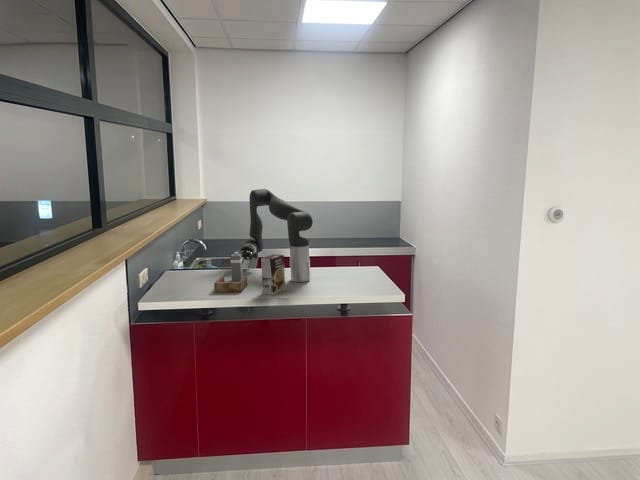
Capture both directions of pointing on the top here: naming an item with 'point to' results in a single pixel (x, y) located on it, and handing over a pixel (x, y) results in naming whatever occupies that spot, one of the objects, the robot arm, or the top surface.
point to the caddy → (230, 285)
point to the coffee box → (273, 274)
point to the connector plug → (236, 267)
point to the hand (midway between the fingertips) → (241, 258)
